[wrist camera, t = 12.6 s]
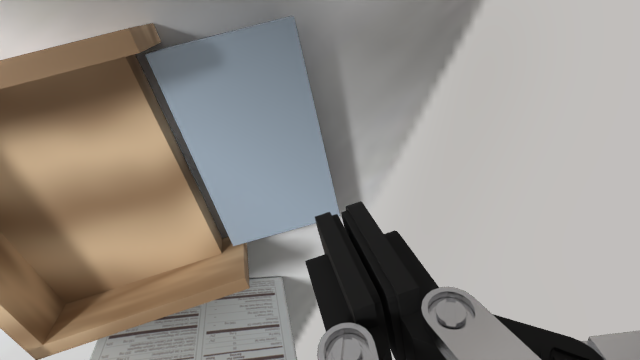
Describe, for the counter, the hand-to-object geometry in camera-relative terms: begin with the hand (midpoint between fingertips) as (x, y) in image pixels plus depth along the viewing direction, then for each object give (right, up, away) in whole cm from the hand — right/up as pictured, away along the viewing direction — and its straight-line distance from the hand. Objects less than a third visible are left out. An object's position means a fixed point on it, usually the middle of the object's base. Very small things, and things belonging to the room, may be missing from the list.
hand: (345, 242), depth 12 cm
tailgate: (-9, +3, +10) cm, 13 cm away
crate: (-15, +2, +10) cm, 18 cm away
